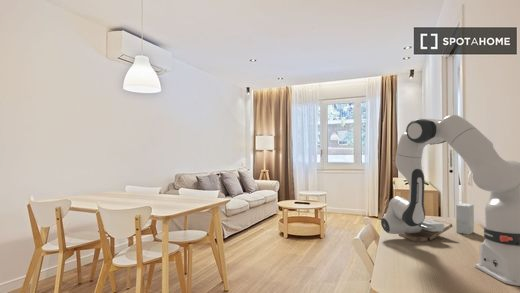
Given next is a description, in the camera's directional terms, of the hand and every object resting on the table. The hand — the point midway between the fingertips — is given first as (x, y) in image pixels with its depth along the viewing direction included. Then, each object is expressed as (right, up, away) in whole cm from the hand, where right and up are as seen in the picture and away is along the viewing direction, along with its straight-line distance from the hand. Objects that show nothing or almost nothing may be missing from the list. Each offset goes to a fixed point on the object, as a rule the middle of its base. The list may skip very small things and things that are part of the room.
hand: (436, 222), depth 154 cm
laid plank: (-14, -7, -3) cm, 16 cm away
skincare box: (+19, -7, +7) cm, 21 cm away
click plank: (-9, -7, -2) cm, 11 cm away
